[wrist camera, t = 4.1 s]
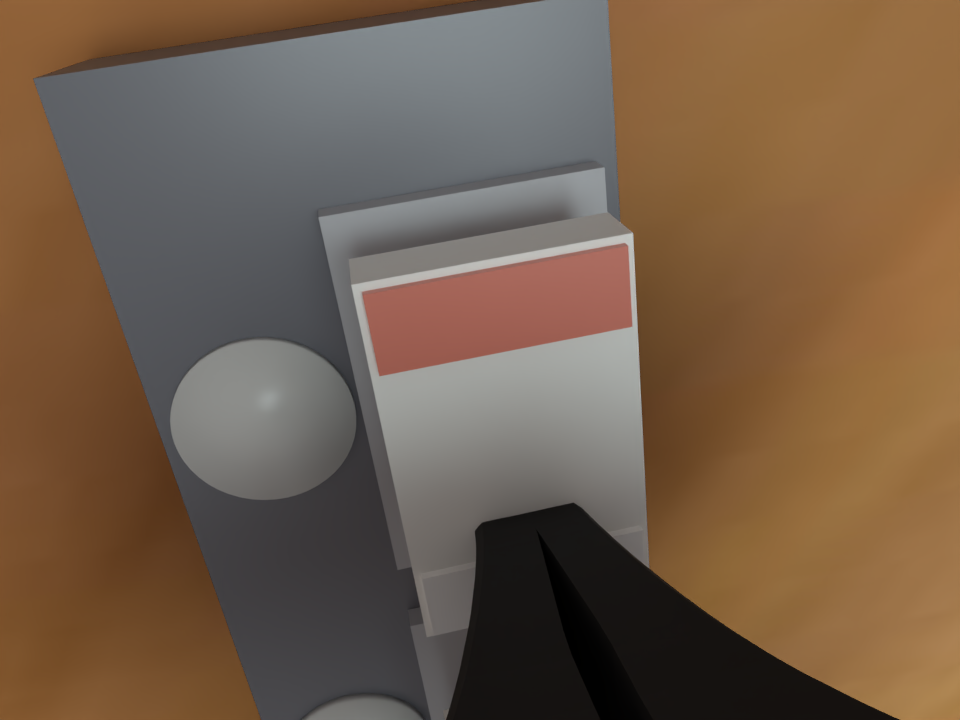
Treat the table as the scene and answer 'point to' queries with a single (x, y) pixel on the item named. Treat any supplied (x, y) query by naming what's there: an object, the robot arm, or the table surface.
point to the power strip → (318, 291)
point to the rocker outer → (505, 390)
